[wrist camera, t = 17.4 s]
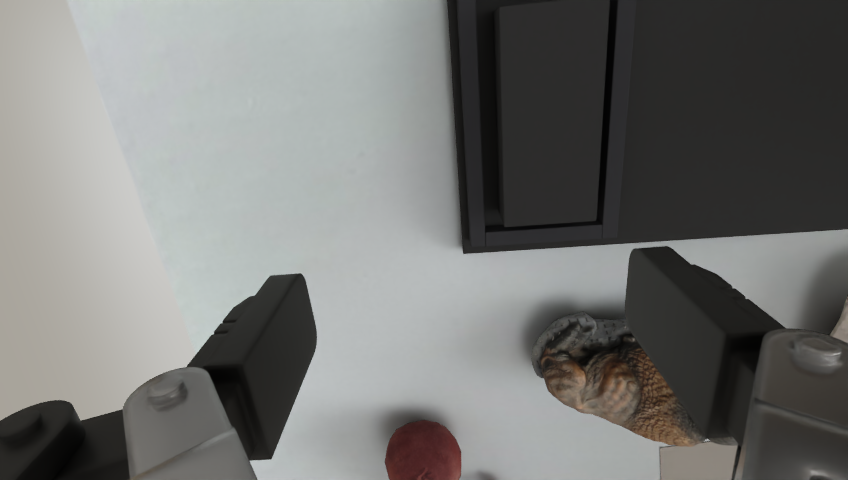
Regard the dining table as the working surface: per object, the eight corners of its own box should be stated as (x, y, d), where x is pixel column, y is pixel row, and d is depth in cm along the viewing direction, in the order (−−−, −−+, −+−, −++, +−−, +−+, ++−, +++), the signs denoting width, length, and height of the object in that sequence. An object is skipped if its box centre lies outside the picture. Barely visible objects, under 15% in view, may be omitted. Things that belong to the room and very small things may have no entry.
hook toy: (542, 474, 33) (502, 549, 40) (517, 403, 39) (485, 479, 45) (391, 479, 31) (374, 558, 37) (387, 403, 36) (373, 483, 43)
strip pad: (492, 11, 25) (498, 6, 22) (592, 1, 25) (610, -6, 22) (498, 211, 30) (504, 227, 27) (582, 205, 29) (596, 221, 27)
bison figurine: (529, 375, 36) (558, 487, 27) (525, 301, 33) (556, 396, 24) (682, 364, 35) (768, 476, 26) (691, 286, 32) (791, 380, 23)
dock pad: (462, 248, 32) (464, 261, 30) (444, -43, 25) (444, -51, 23) (1046, 210, 29) (1091, 222, 27) (1205, -129, 22) (1281, -147, 20)
